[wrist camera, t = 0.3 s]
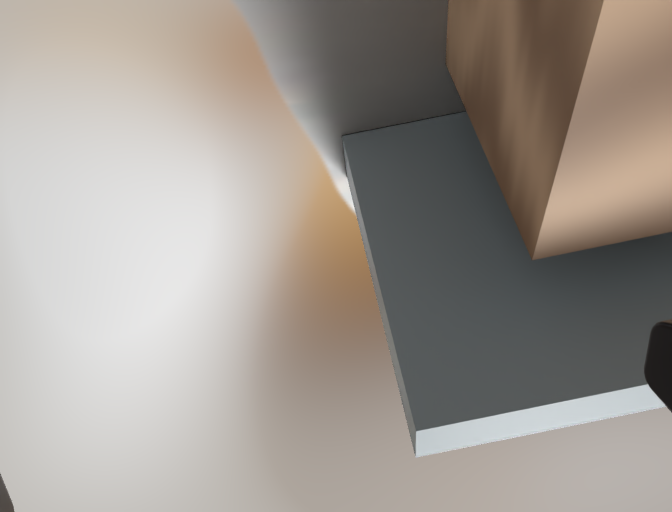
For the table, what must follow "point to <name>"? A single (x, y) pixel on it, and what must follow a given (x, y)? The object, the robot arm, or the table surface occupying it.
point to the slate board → (495, 296)
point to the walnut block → (571, 114)
